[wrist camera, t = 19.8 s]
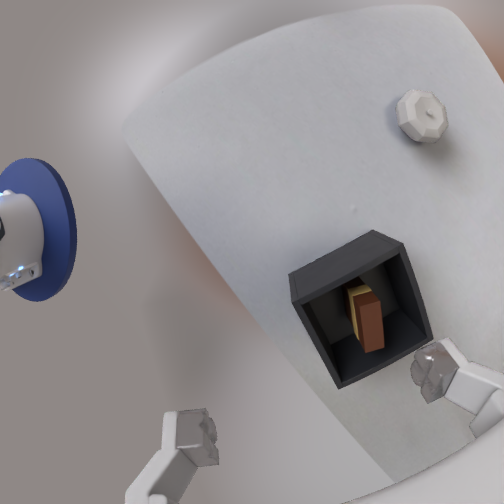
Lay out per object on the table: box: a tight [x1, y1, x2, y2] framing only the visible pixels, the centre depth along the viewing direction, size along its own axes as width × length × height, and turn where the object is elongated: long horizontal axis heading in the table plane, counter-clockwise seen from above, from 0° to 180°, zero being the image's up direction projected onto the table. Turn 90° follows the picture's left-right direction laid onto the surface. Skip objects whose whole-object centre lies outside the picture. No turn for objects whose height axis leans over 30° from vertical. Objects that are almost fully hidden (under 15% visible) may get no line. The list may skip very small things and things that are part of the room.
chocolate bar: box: [341, 276, 385, 353], centre depth 35 cm, size 2×6×11 cm, turn 15°
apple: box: [395, 90, 448, 143], centre depth 32 cm, size 8×8×7 cm
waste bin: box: [288, 230, 433, 389], centre depth 36 cm, size 14×14×11 cm
